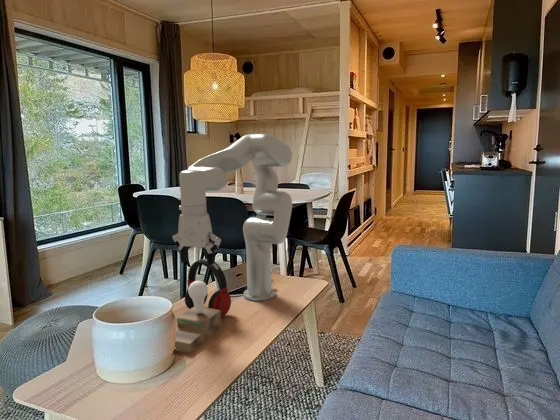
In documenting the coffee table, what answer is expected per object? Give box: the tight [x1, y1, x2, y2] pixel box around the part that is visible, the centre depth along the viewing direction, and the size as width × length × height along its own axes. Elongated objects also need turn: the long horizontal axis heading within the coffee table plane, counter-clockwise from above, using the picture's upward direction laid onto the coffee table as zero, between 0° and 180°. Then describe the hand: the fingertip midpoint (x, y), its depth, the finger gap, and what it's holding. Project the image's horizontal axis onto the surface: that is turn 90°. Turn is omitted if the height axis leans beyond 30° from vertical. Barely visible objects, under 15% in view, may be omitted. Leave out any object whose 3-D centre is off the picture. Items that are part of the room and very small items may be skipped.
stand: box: [175, 306, 222, 354], centre depth 128 cm, size 18×10×6 cm, turn 158°
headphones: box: [184, 258, 232, 319], centre depth 144 cm, size 18×10×20 cm, turn 53°
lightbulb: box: [187, 280, 208, 314], centre depth 130 cm, size 6×6×11 cm
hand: (197, 262), depth 129 cm, fingers open, 9 cm apart
